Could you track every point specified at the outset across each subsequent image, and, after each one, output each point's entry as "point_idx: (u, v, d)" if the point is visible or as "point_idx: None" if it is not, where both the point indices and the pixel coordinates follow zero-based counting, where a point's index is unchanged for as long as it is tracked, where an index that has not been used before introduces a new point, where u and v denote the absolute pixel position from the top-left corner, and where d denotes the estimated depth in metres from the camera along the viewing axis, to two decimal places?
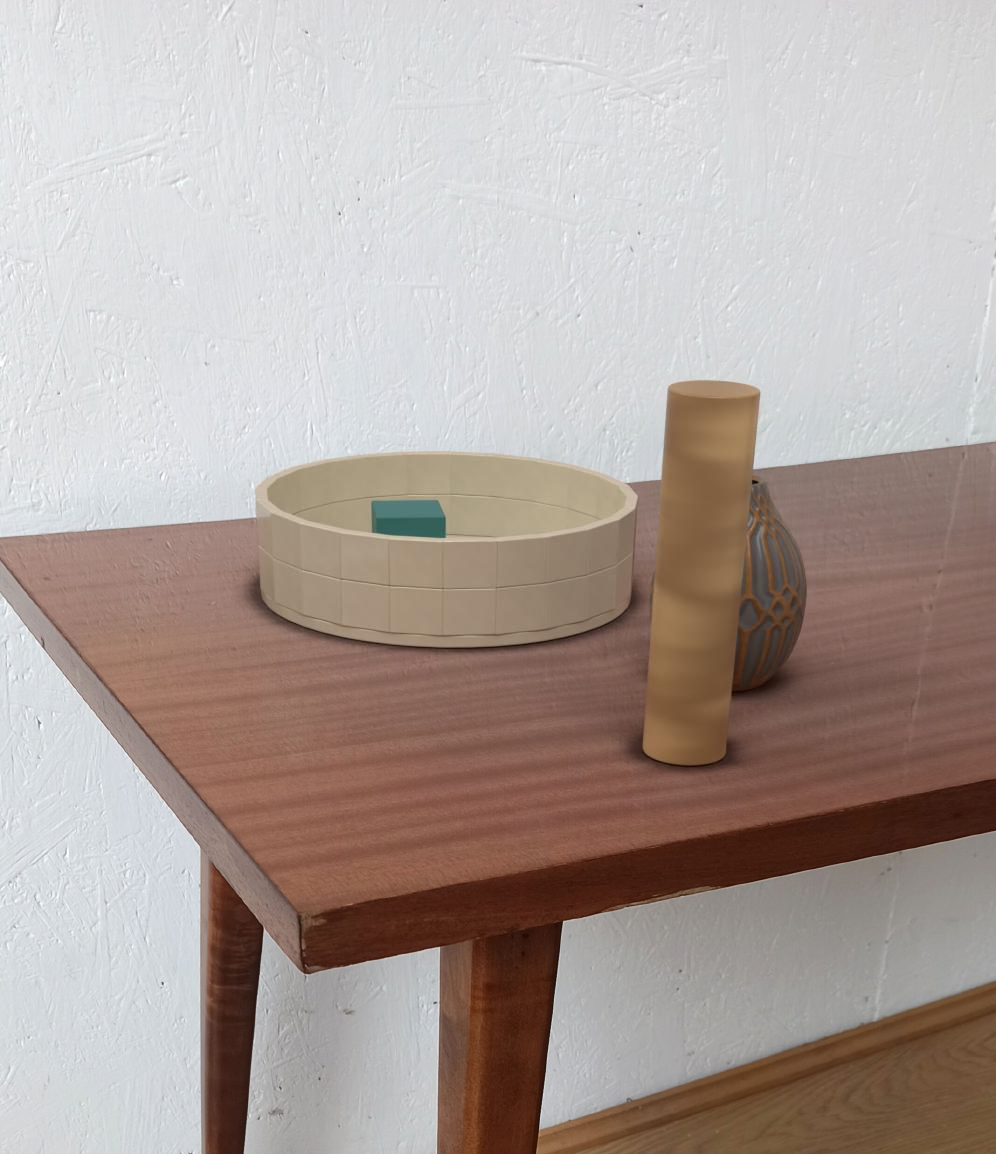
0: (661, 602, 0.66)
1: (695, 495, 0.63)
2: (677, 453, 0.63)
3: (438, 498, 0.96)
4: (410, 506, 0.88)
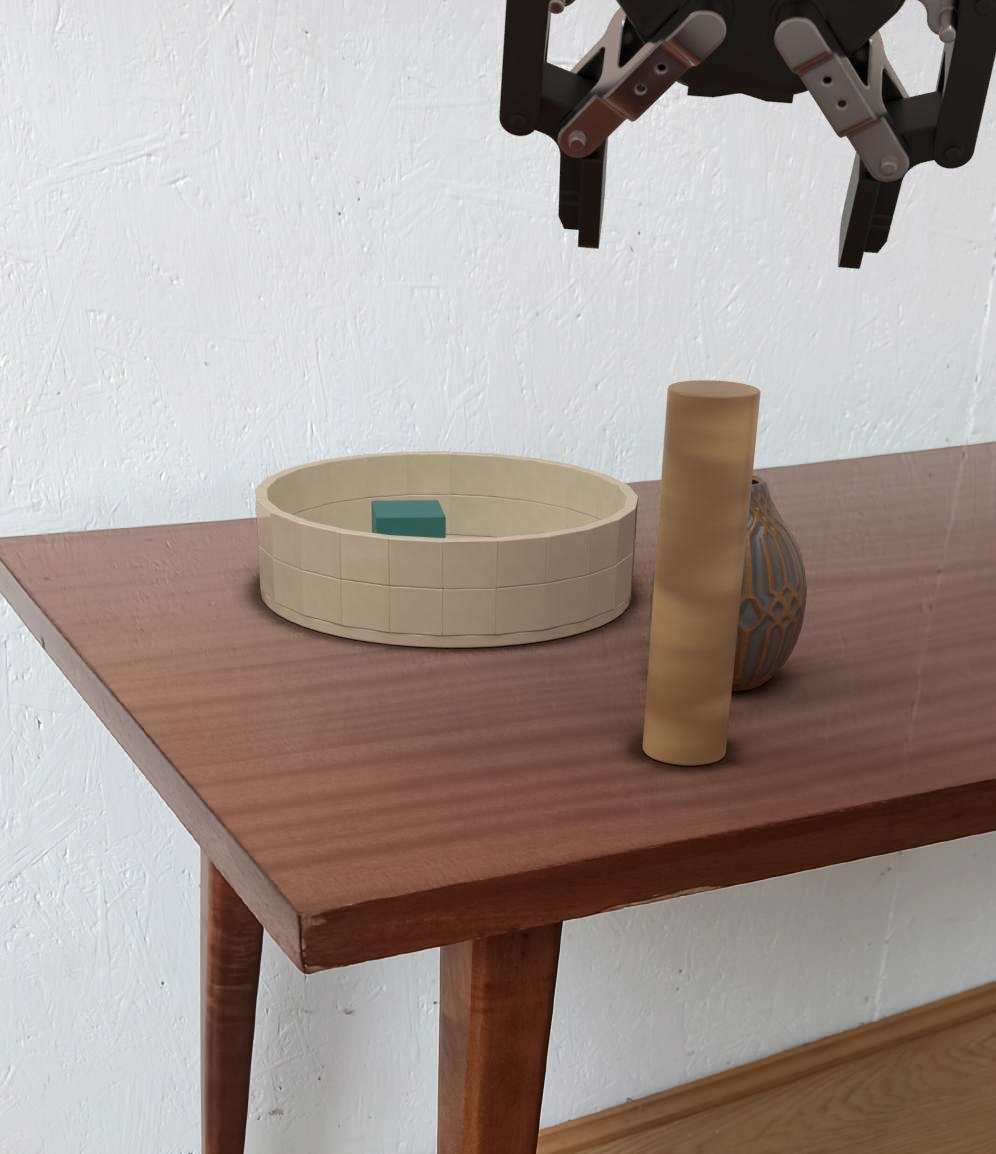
0: (661, 602, 0.66)
1: (695, 495, 0.63)
2: (677, 453, 0.63)
3: (438, 498, 0.96)
4: (410, 506, 0.88)
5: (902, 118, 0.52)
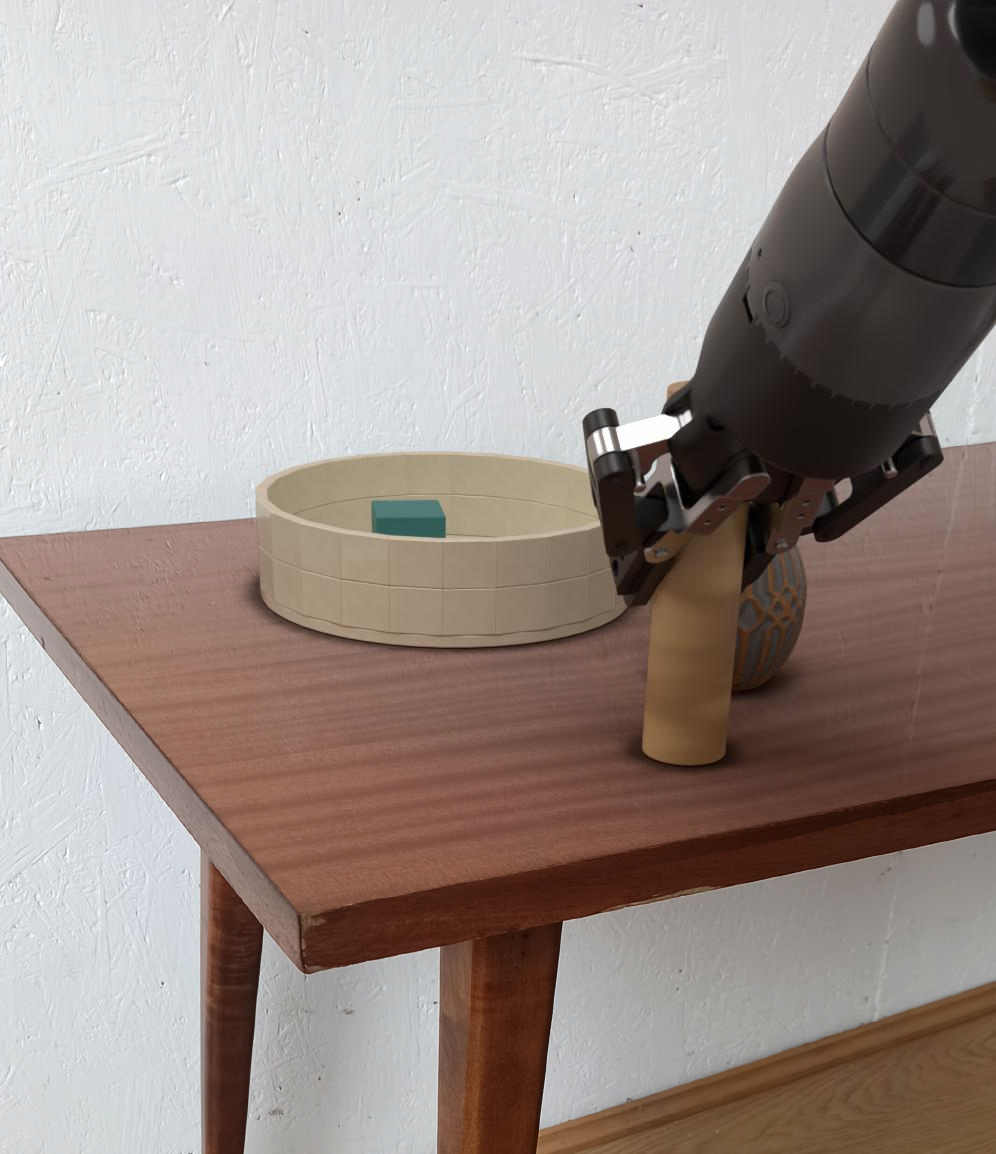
0: (661, 602, 0.66)
1: None
2: None
3: (438, 498, 0.96)
4: (410, 506, 0.88)
5: None
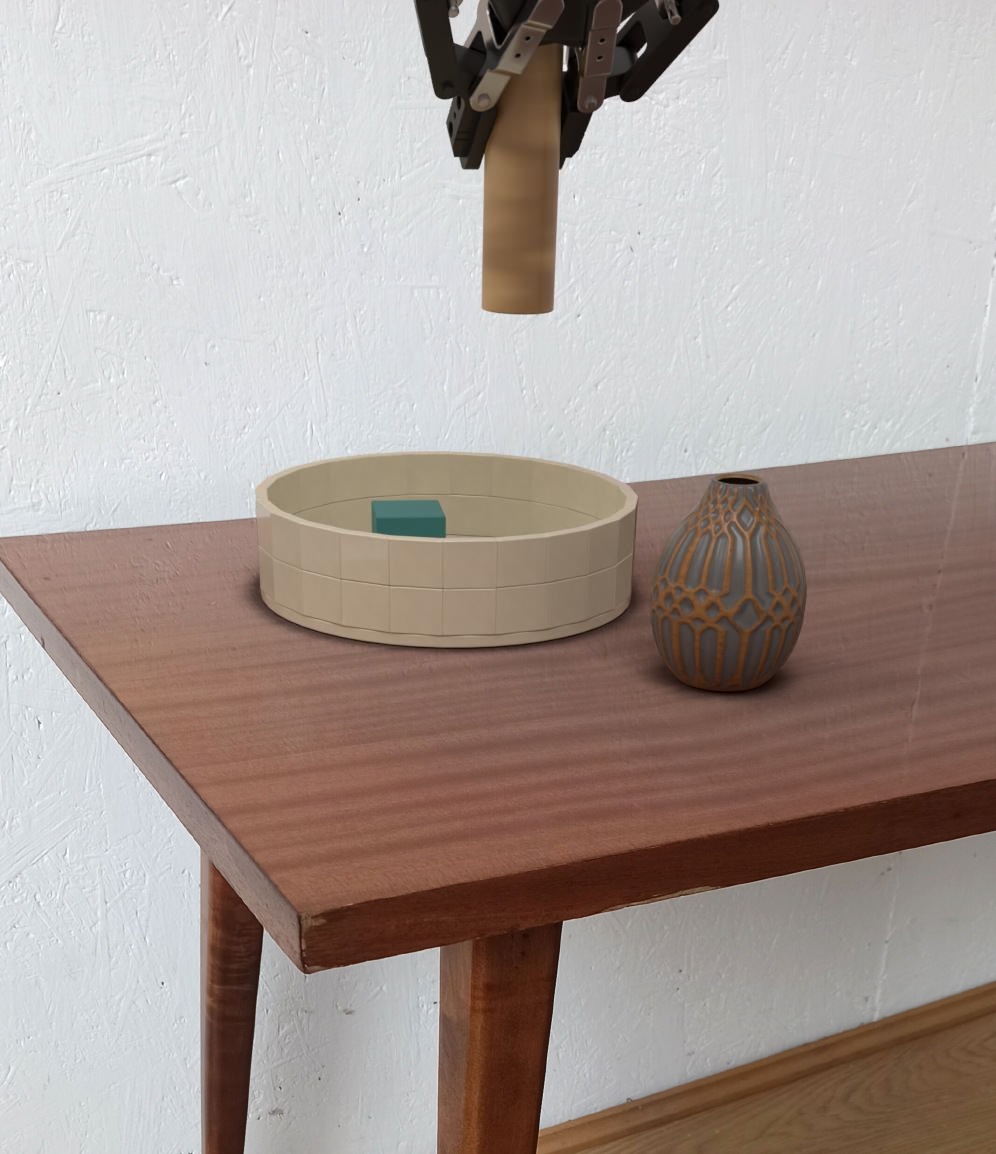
0: (489, 157, 0.77)
1: None
2: None
3: (438, 498, 0.96)
4: (410, 506, 0.88)
5: None
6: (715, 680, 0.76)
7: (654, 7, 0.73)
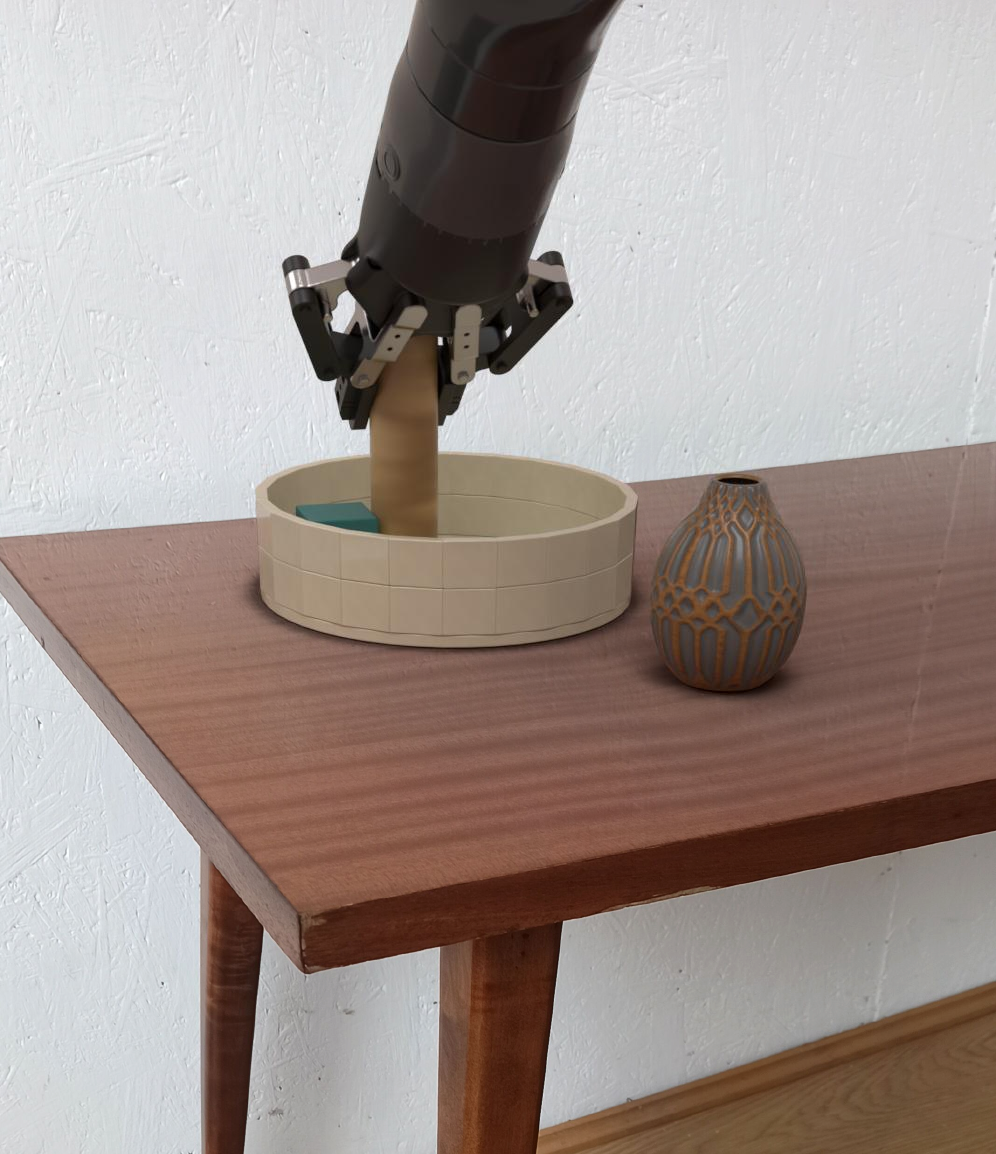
0: (373, 423, 0.84)
1: None
2: None
3: (438, 498, 0.96)
4: (337, 509, 0.87)
5: None
6: (715, 680, 0.76)
7: (517, 297, 0.81)
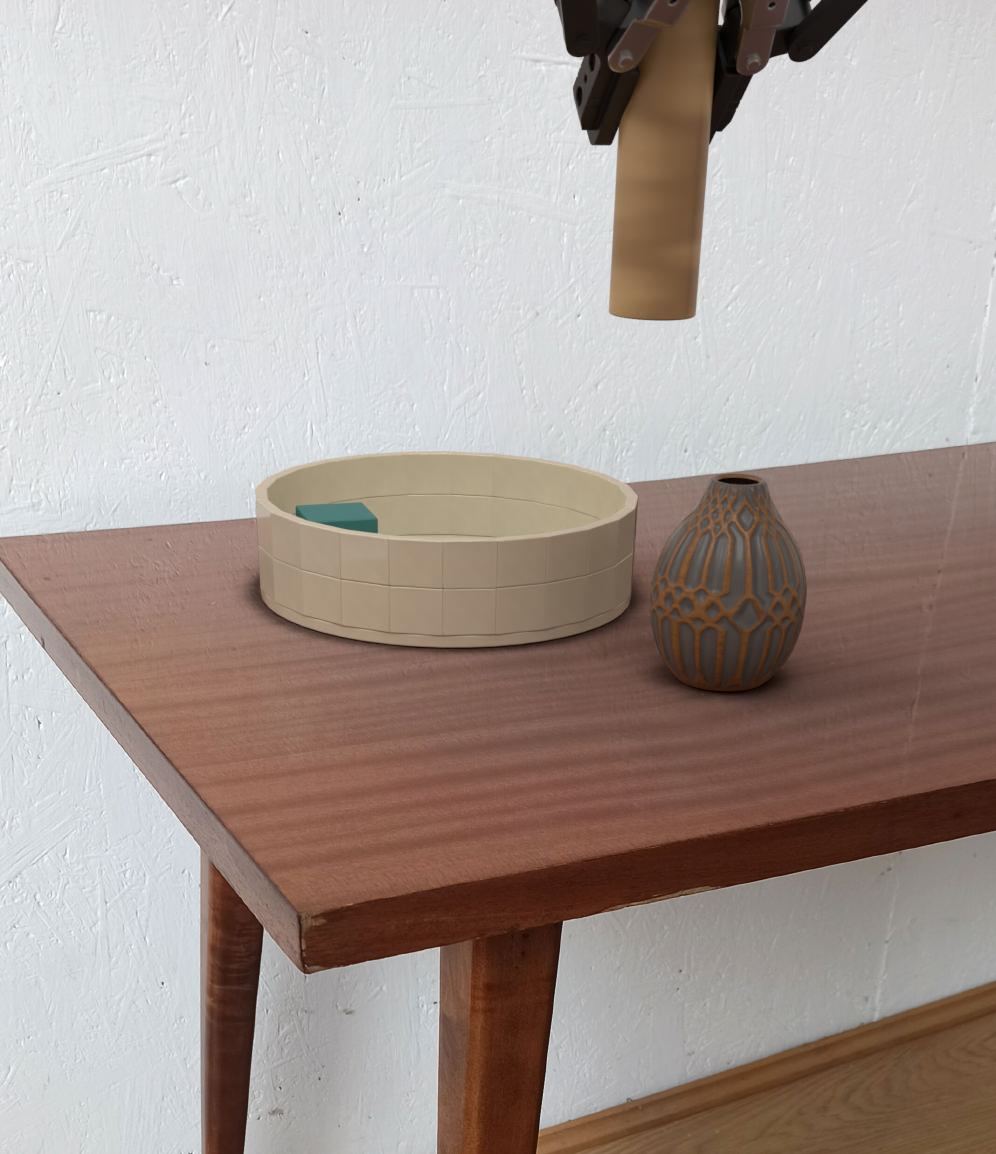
0: (626, 129, 0.63)
1: None
2: None
3: (438, 498, 0.96)
4: (337, 509, 0.87)
5: None
6: (715, 680, 0.76)
7: None
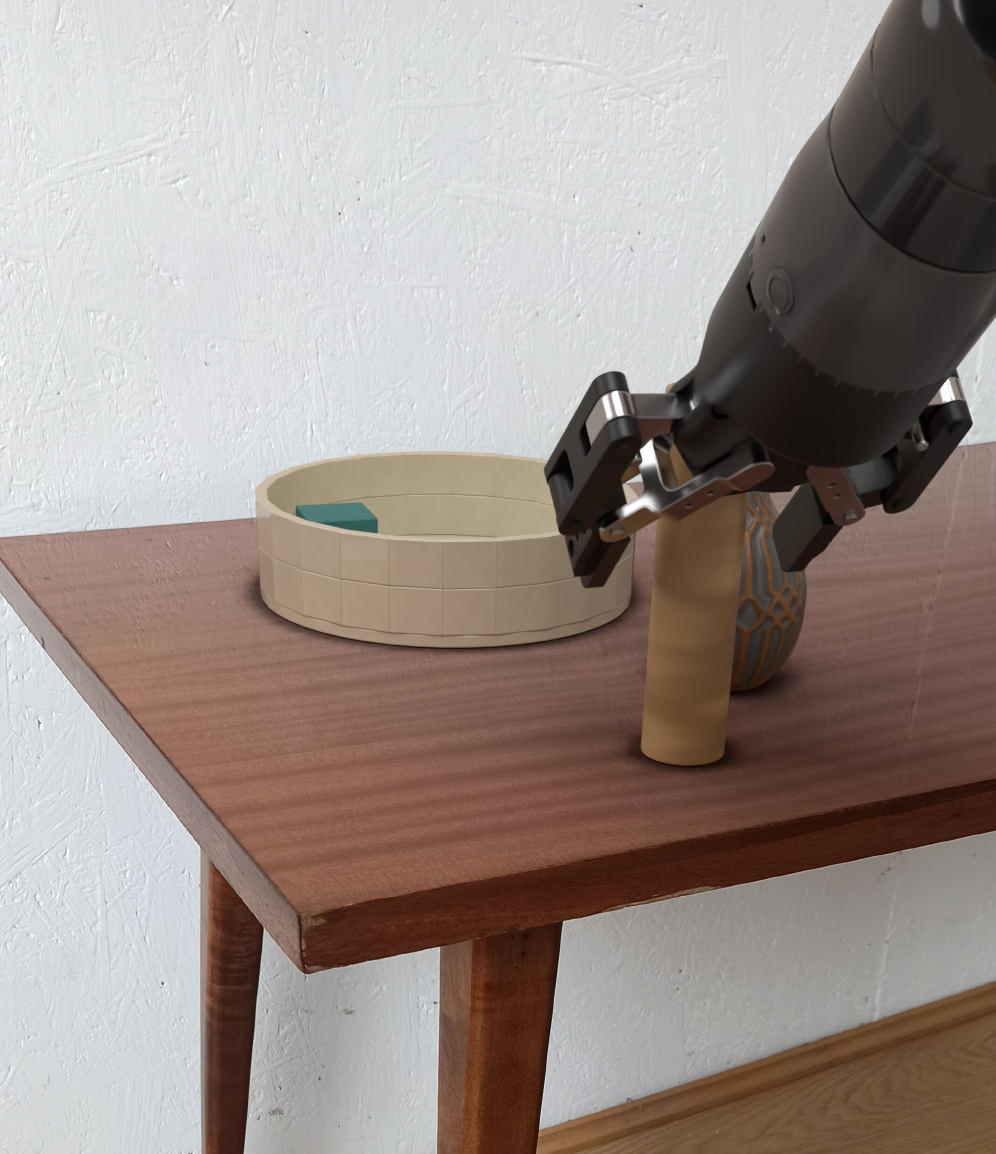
0: (659, 602, 0.66)
1: None
2: (675, 453, 0.63)
3: (438, 498, 0.96)
4: (337, 509, 0.87)
5: (856, 480, 0.64)
6: None
7: None
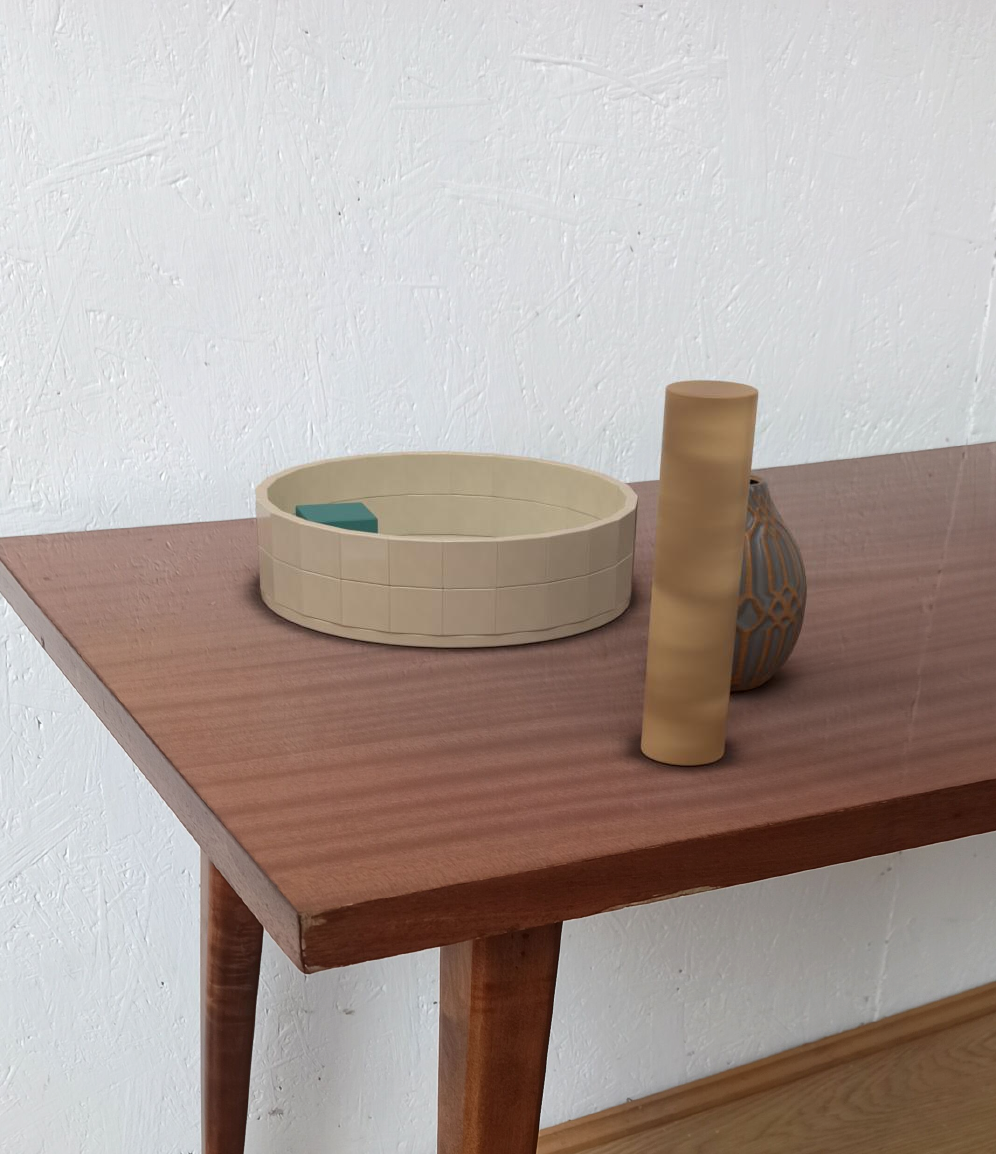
0: (659, 602, 0.66)
1: (693, 495, 0.63)
2: (675, 453, 0.63)
3: (438, 498, 0.96)
4: (337, 509, 0.87)
5: None
6: None
7: None
